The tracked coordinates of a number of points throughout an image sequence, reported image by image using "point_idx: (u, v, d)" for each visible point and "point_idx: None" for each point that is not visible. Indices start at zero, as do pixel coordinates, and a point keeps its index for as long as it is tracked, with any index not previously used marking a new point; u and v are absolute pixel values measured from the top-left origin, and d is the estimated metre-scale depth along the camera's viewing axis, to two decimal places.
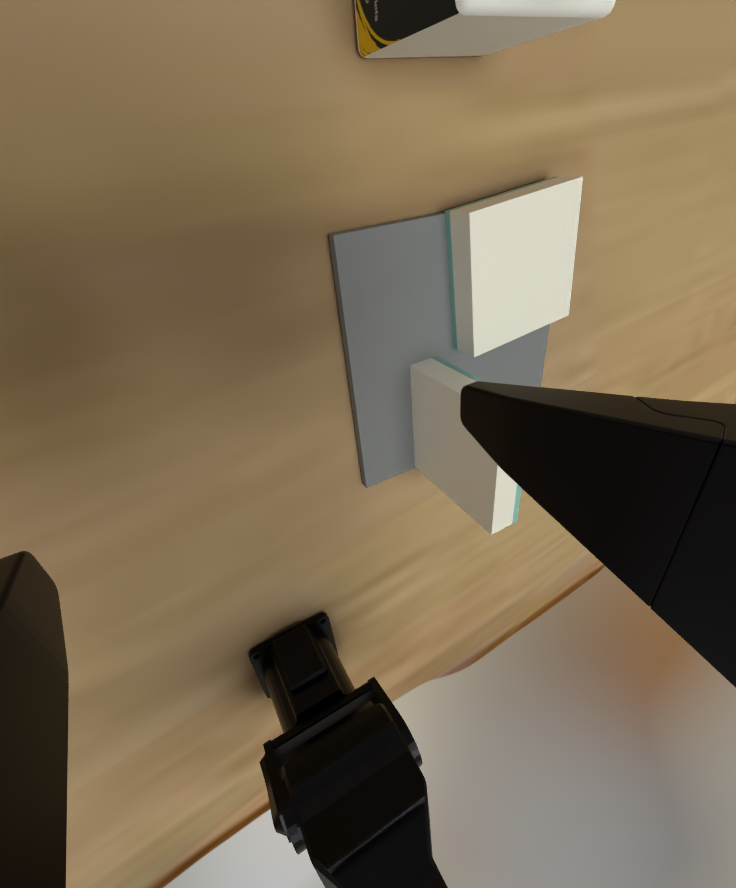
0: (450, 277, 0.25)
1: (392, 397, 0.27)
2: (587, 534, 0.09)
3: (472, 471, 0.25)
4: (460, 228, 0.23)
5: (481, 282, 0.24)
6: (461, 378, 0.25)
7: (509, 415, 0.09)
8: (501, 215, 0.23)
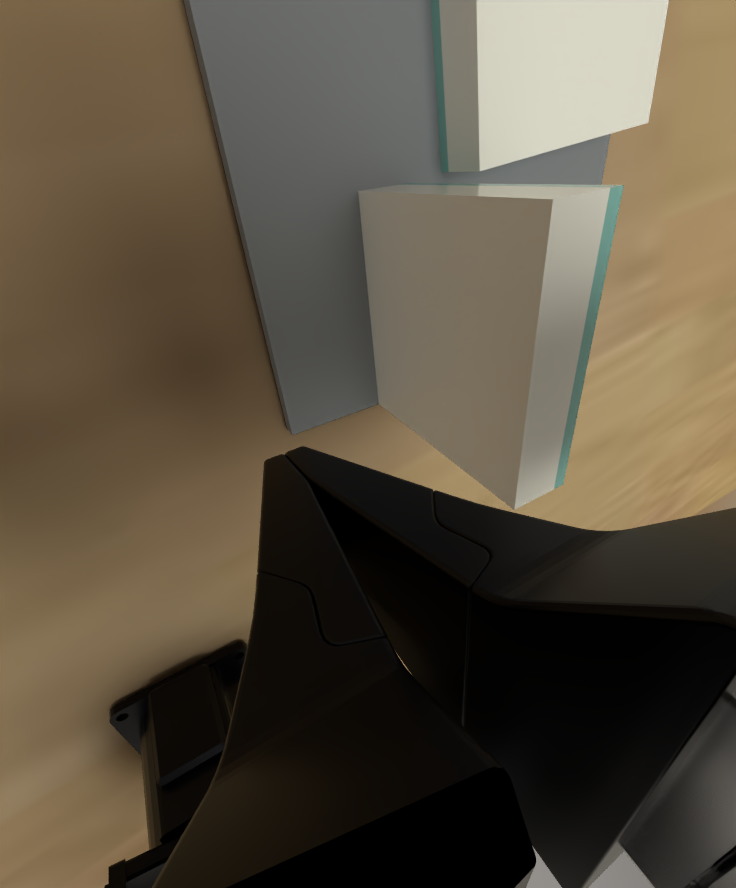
0: None
1: (327, 257, 0.15)
2: (399, 646, 0.07)
3: (476, 379, 0.12)
4: None
5: None
6: (454, 187, 0.12)
7: None
8: None
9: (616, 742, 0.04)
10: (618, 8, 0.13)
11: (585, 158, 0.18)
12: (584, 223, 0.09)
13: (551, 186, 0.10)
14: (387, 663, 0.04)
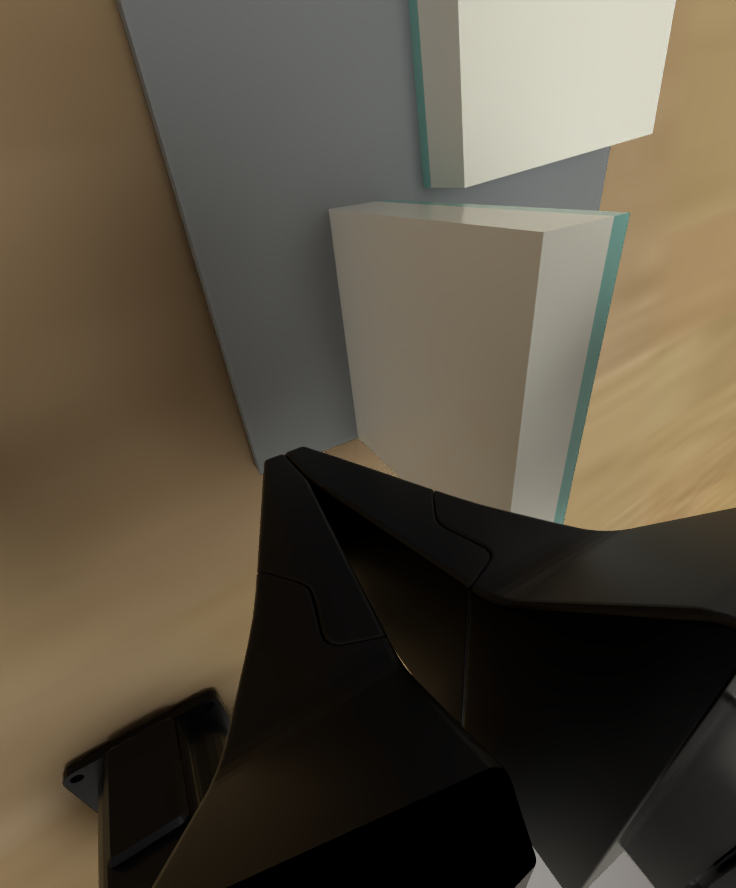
0: None
1: (294, 282, 0.13)
2: (399, 647, 0.07)
3: (459, 427, 0.11)
4: None
5: None
6: (433, 208, 0.10)
7: None
8: None
9: (616, 742, 0.04)
10: (620, 6, 0.12)
11: (583, 171, 0.16)
12: (582, 259, 0.07)
13: (543, 211, 0.08)
14: (387, 663, 0.04)
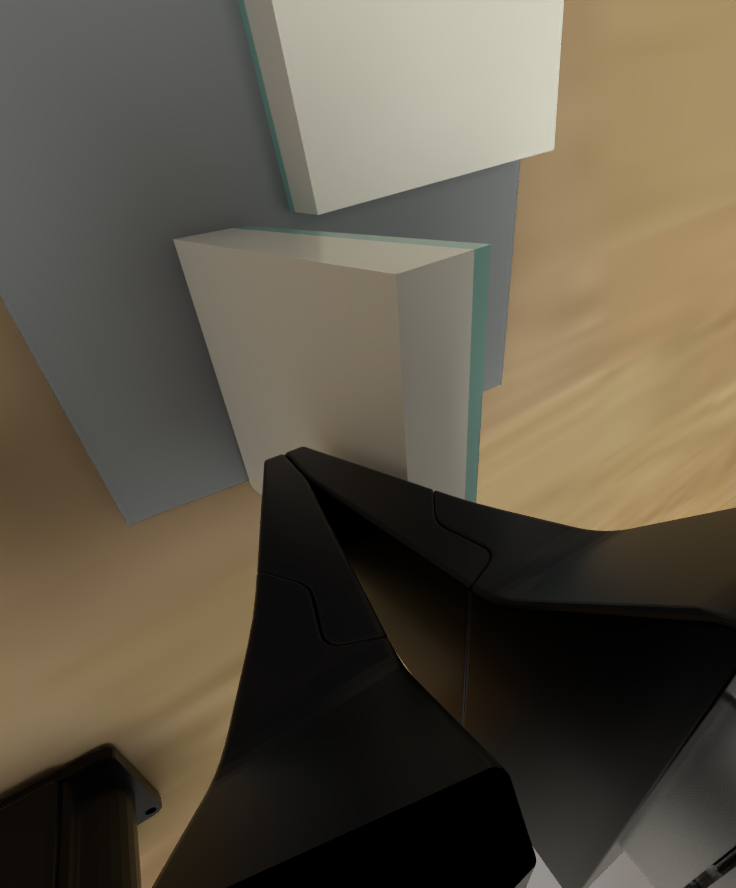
0: None
1: (137, 320, 0.12)
2: (399, 647, 0.07)
3: None
4: None
5: None
6: (287, 237, 0.09)
7: None
8: None
9: (616, 742, 0.04)
10: (492, 8, 0.11)
11: (490, 189, 0.15)
12: (447, 298, 0.06)
13: (402, 242, 0.07)
14: (387, 663, 0.04)
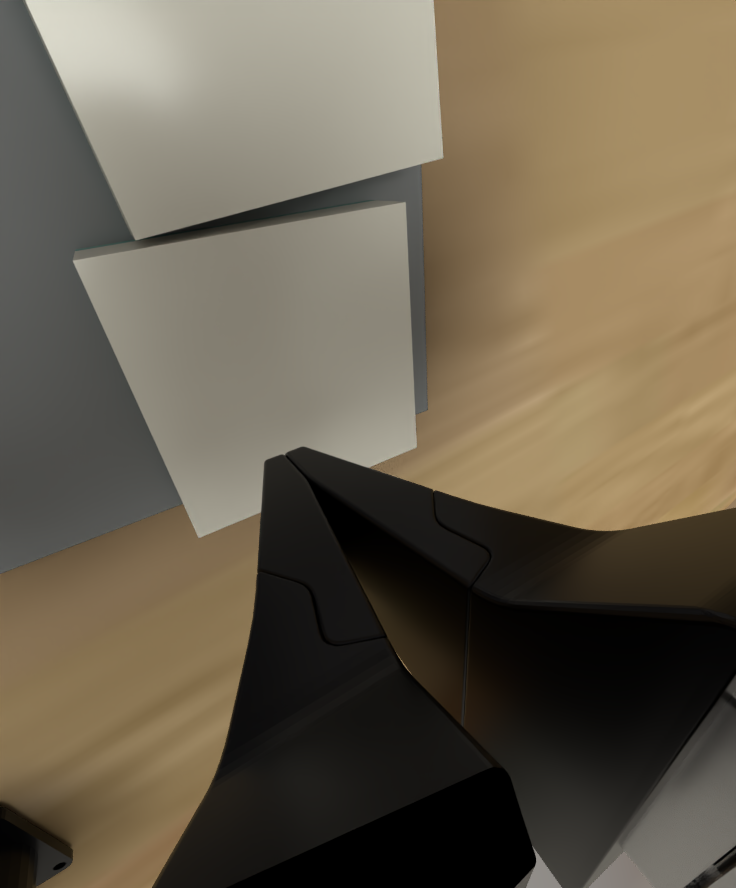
0: None
1: None
2: (399, 647, 0.07)
3: (362, 375, 0.13)
4: None
5: None
6: (227, 227, 0.11)
7: None
8: None
9: (616, 742, 0.04)
10: None
11: None
12: None
13: (328, 208, 0.12)
14: (387, 663, 0.04)
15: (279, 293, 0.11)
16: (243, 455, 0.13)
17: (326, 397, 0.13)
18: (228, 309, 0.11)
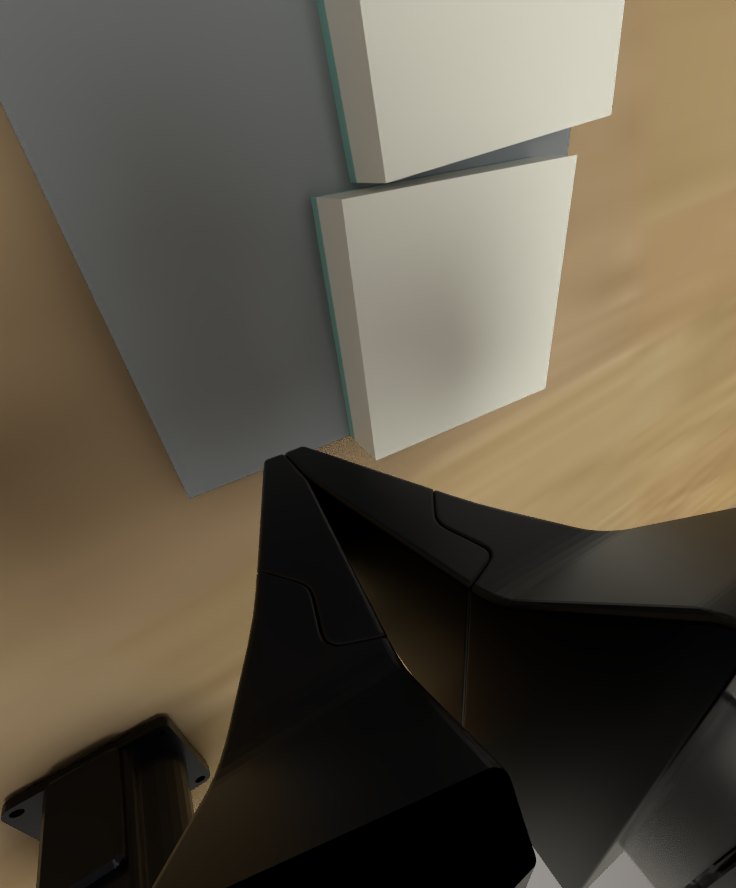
0: None
1: (204, 293, 0.12)
2: (399, 647, 0.07)
3: (518, 315, 0.15)
4: None
5: None
6: (430, 177, 0.13)
7: None
8: None
9: (616, 742, 0.04)
10: None
11: None
12: None
13: (500, 163, 0.14)
14: (387, 663, 0.04)
15: (473, 235, 0.13)
16: (420, 385, 0.14)
17: (488, 334, 0.15)
18: (436, 248, 0.12)
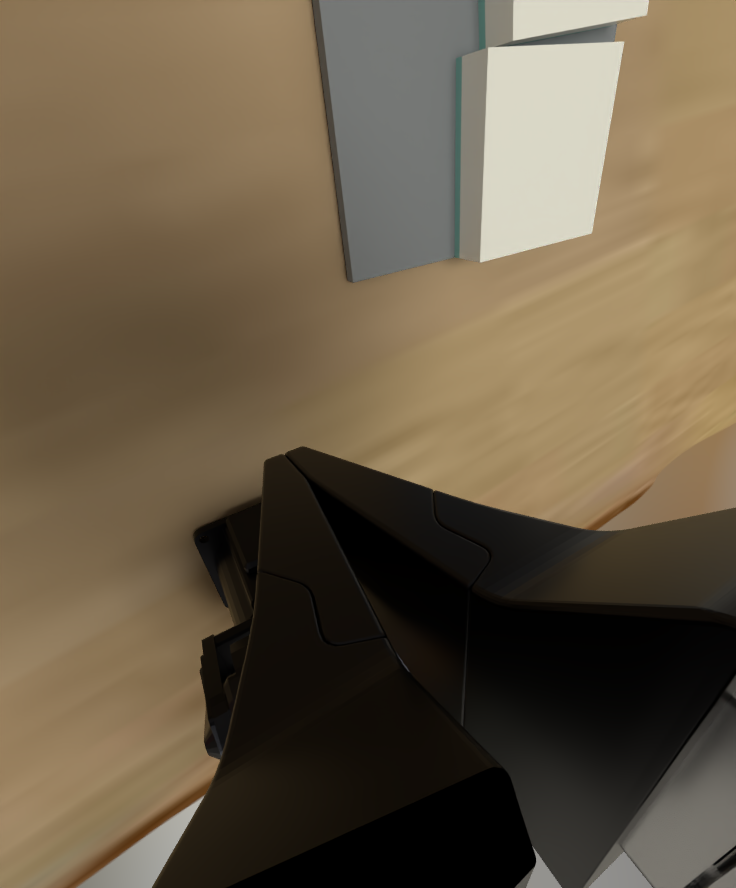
0: None
1: (388, 117, 0.18)
2: (399, 647, 0.07)
3: (578, 162, 0.22)
4: None
5: None
6: None
7: None
8: None
9: (616, 742, 0.04)
10: None
11: None
12: None
13: None
14: (387, 663, 0.04)
15: (557, 90, 0.19)
16: (514, 205, 0.21)
17: (559, 174, 0.21)
18: (535, 95, 0.19)
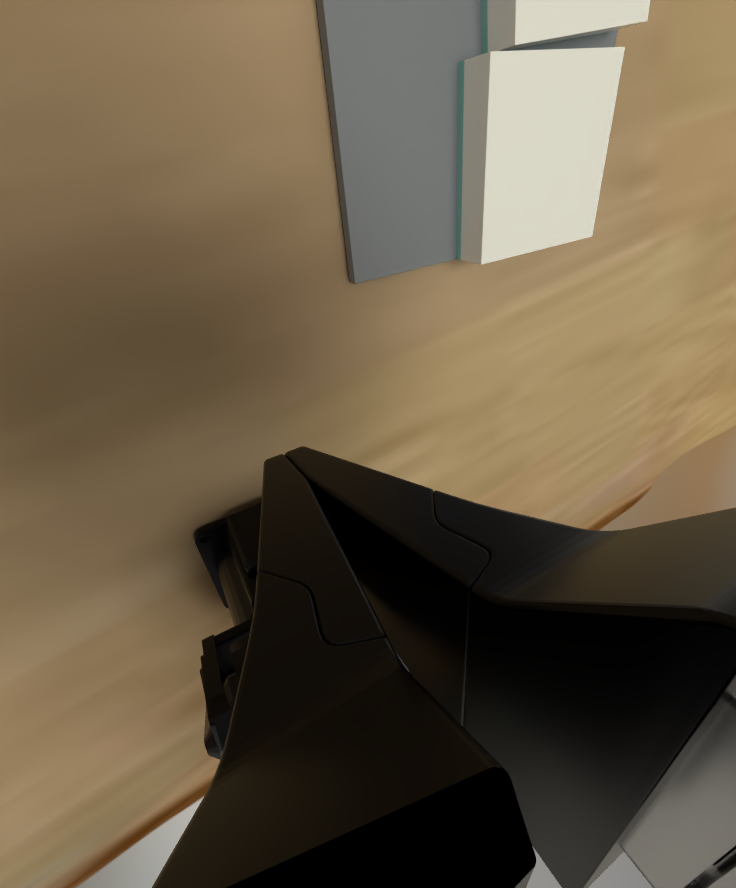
0: None
1: (391, 120, 0.18)
2: (399, 647, 0.07)
3: (579, 166, 0.22)
4: None
5: None
6: None
7: None
8: None
9: (616, 742, 0.04)
10: None
11: None
12: None
13: None
14: (387, 663, 0.04)
15: (558, 94, 0.19)
16: (515, 207, 0.21)
17: (560, 177, 0.22)
18: (536, 99, 0.19)
